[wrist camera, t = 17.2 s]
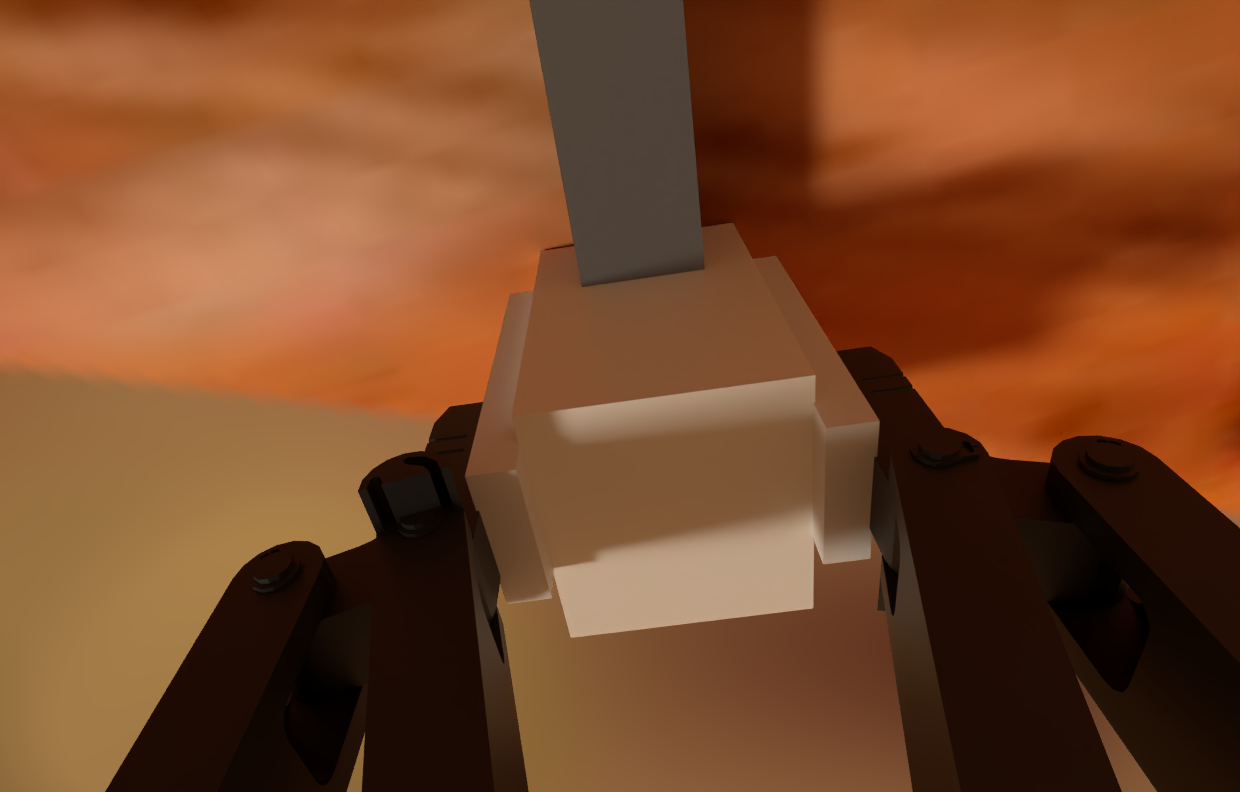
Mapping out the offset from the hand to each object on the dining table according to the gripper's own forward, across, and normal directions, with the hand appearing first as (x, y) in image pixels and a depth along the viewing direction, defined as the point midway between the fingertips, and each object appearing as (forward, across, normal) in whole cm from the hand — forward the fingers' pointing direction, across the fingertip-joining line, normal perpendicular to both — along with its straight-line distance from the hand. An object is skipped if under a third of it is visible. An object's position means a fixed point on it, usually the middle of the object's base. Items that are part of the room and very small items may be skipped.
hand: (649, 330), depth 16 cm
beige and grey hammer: (+1, 0, +5) cm, 5 cm away
